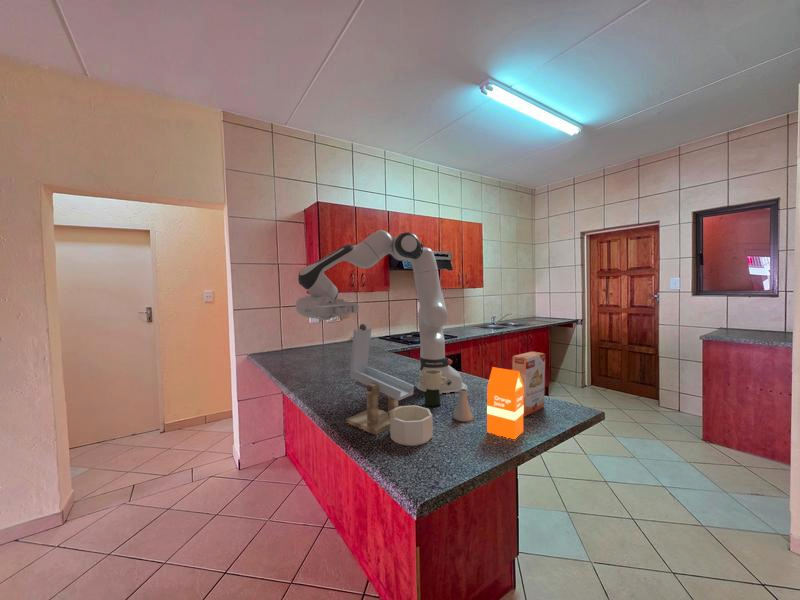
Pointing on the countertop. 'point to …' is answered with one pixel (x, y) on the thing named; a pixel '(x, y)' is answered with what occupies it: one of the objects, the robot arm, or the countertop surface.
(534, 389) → the cracker box
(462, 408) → the flask
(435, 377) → the character mug
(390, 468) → the countertop surface
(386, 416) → the trough stand
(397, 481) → the countertop surface
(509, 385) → the orange juice
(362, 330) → the tipping trough
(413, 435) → the cup
